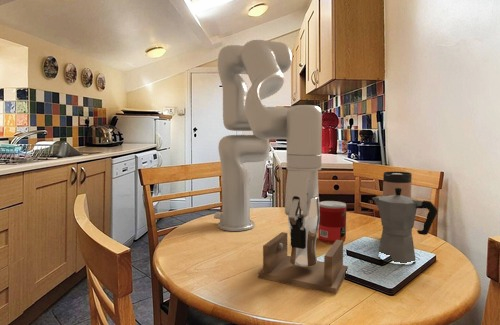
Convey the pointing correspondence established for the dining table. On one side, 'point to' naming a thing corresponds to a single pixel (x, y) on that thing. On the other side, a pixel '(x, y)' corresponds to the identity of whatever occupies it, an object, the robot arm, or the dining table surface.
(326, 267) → the holder
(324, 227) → the canned food
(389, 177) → the travel mug
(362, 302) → the dining table surface
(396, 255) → the coffeepot
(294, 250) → the beer glass
